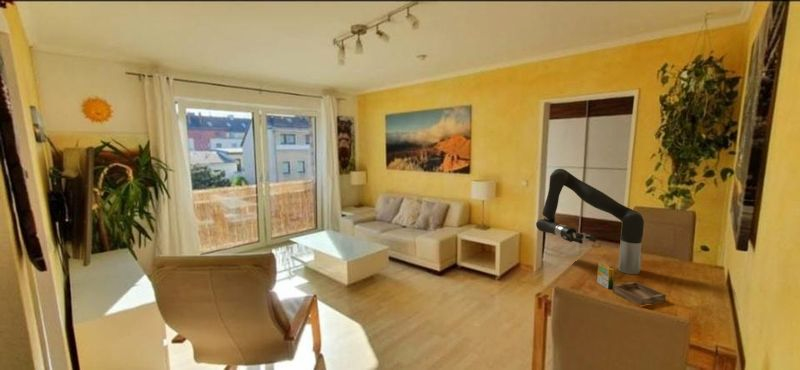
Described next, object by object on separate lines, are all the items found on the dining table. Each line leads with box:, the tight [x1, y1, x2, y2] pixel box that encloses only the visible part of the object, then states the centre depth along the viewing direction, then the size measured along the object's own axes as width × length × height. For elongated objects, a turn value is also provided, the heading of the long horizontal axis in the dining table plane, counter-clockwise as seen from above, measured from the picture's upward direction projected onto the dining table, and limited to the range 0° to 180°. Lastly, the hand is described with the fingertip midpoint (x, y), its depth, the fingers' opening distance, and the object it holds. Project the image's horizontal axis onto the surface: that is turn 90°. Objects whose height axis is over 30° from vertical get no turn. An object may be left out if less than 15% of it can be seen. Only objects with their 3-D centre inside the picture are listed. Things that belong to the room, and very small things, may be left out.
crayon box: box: [596, 260, 615, 290], centre depth 162 cm, size 7×3×12 cm, turn 9°
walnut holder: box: [612, 280, 667, 305], centre depth 151 cm, size 14×14×4 cm
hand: (588, 241), depth 171 cm, fingers open, 8 cm apart
